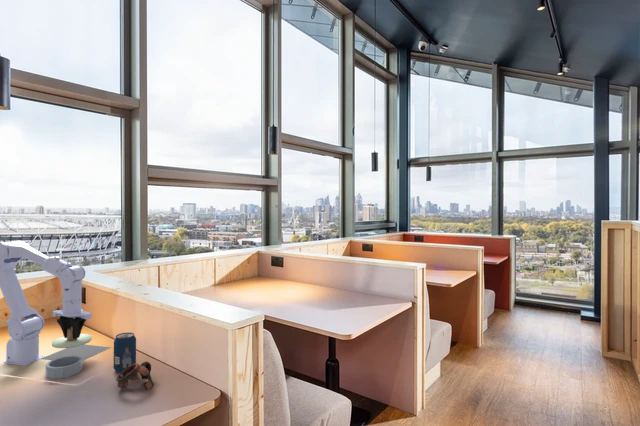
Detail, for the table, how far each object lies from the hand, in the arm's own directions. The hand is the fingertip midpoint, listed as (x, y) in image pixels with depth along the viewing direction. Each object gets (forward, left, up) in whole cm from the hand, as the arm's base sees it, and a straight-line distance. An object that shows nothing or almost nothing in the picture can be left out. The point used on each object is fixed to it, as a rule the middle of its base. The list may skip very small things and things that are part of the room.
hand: (72, 337), depth 136 cm
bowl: (+5, -8, -9) cm, 13 cm away
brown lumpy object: (+35, -9, -10) cm, 37 cm away
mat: (-5, +7, -9) cm, 13 cm away
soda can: (+22, 0, -9) cm, 24 cm away
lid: (0, 0, -2) cm, 2 cm away
